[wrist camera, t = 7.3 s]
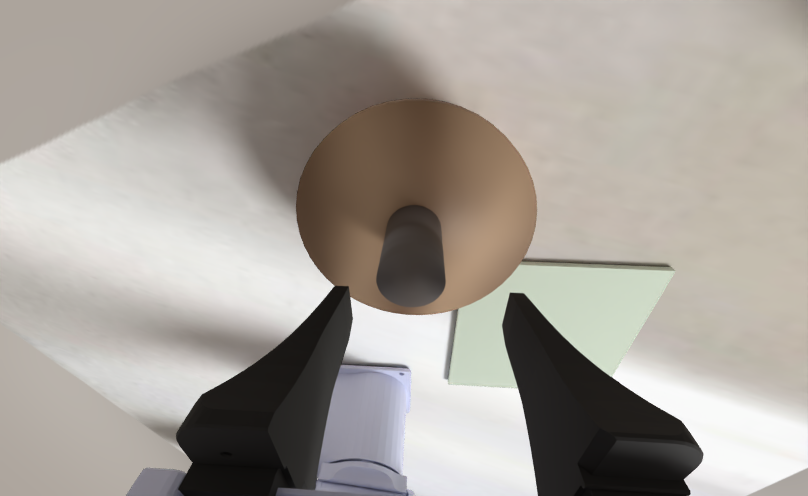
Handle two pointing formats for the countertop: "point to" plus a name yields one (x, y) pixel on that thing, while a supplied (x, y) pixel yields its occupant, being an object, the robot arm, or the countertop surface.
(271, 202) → the countertop surface
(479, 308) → the mat
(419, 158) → the lid
